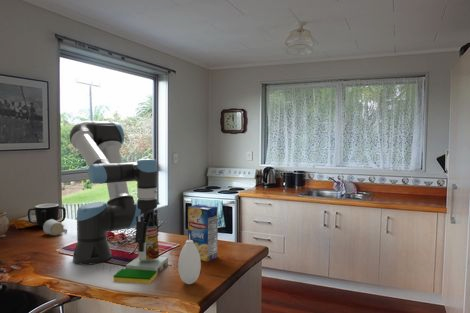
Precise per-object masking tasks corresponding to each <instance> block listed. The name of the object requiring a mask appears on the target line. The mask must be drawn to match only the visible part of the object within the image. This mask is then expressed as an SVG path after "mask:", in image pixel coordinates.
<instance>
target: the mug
mask: <svg viewBox="0 0 470 313" xmlns="http://www.w3.org/2000/svg"><path fill="white" fill-rule="evenodd" d="M60 210H62V218H61V219H58V218H59V211H60ZM32 211H34V213H35V220H33V219H32ZM66 212H67V209H66V207H63V206H60V205H59V203H42V204H37V205H35V206H34V207H33V208H29V209H28V210H27V219H28V222H29V223H30V224H35V225H36V224H37V226H38V227H39V228H43V225H44V223H45V222H46V221H47V220H50V219H53V220H56V221H58V222H60V223H62V222H64V221H65V220H66V217H67V216H66V215H67V213H66Z"/></svg>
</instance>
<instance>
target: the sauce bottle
mask: <svg viewBox="0 0 470 313" xmlns="http://www.w3.org/2000/svg"><path fill="white" fill-rule="evenodd" d="M201 262H202V260H200V255H199V252H198V250H197V248H196V246H195V244H194V243H193V240H190V233H189V240H188V239H187V240H186V241H185V244H184V245H183V246H182V249H181V250H180V253H179V257H178V263H177V264H178V265H177V270H178V274H179V277H180V280H181V281H182V282H184V283H185V284H186V285H193V284H194V283H195V282H196V281H197V280H198V279H199V276H200V272H201V266H202V263H201Z"/></svg>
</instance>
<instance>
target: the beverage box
mask: <svg viewBox="0 0 470 313" xmlns="http://www.w3.org/2000/svg"><path fill="white" fill-rule="evenodd" d="M187 208H188V209H187V223H188V224H187V232H188V234H187V238H188V239H187V240H189V233H190V240H193V243H194V244H195V246H196V248H197V250H198V252H199V255H200V261H202V262H203V261H204V262H210V261H213V260H215V259H217V258H218V235H219V234H218V227H219V225H218V223H219V220H218V217H219V216H218V215H219V214H218V213H219V212H218V211H219V210H218V209H219V208H218V206H214V205H207V204H201V203H200V204H199V203H198V204H193V205H190V206H187Z"/></svg>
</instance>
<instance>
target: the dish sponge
mask: <svg viewBox="0 0 470 313" xmlns="http://www.w3.org/2000/svg"><path fill="white" fill-rule="evenodd" d="M156 272H157V271H149V270H132V269H126V268H121V269H120V270H118V272H116V273H115V274H114V275H113V276H112V277H113V282H119V283H134V284H135V283H136V284H149V285H150V284H151V283H152V282H153V281H154V280H155V279H156V277H157V276H158V274H157V273H156Z"/></svg>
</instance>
